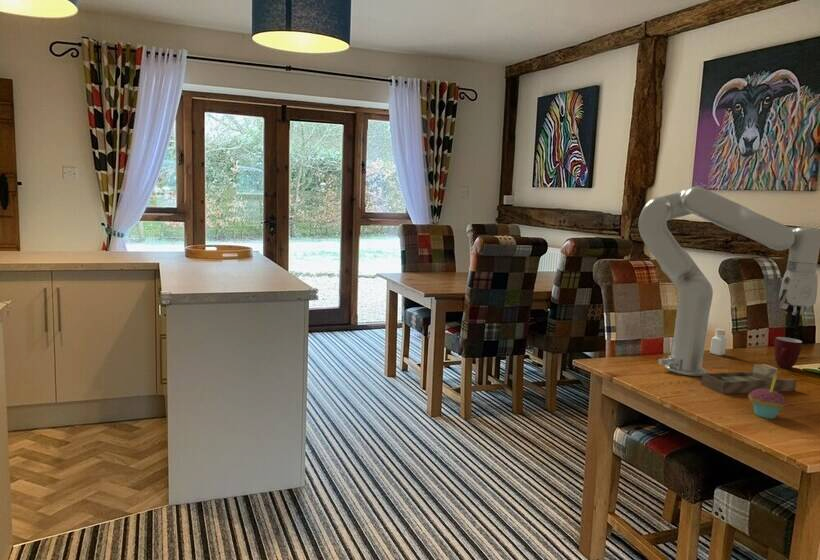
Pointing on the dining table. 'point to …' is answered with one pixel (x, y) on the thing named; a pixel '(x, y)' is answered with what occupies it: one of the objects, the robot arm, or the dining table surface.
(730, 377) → the tray
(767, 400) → the cupcake
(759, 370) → the birch block
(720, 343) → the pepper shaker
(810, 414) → the dining table surface
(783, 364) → the mug
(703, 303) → the robot arm
